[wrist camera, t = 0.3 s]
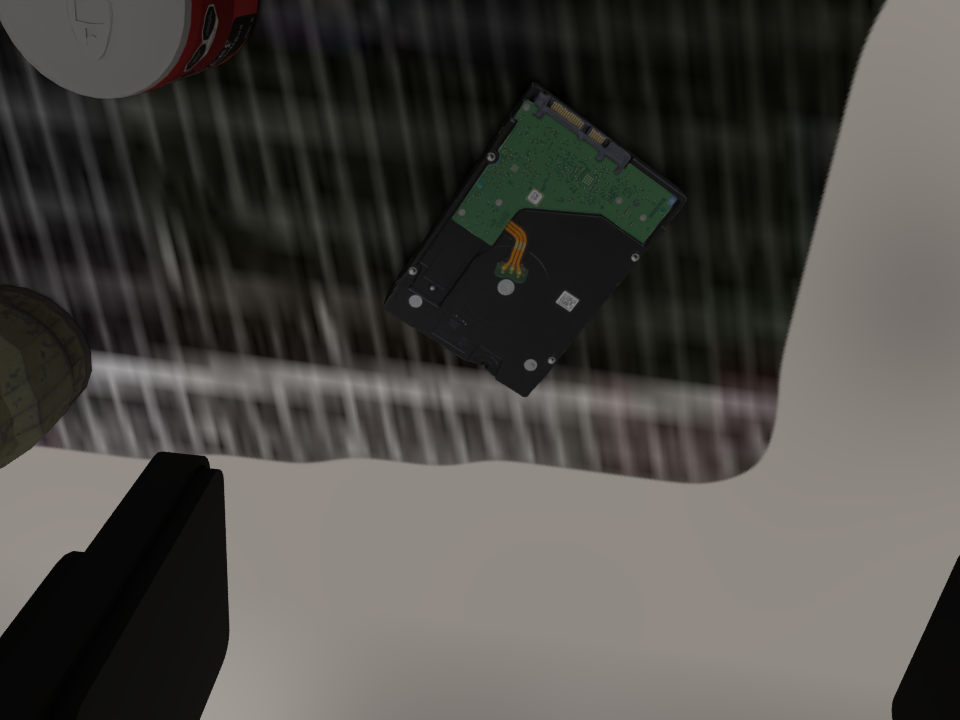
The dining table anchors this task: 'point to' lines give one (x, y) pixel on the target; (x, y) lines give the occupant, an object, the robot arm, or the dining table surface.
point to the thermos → (36, 368)
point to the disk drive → (533, 242)
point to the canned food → (126, 40)
